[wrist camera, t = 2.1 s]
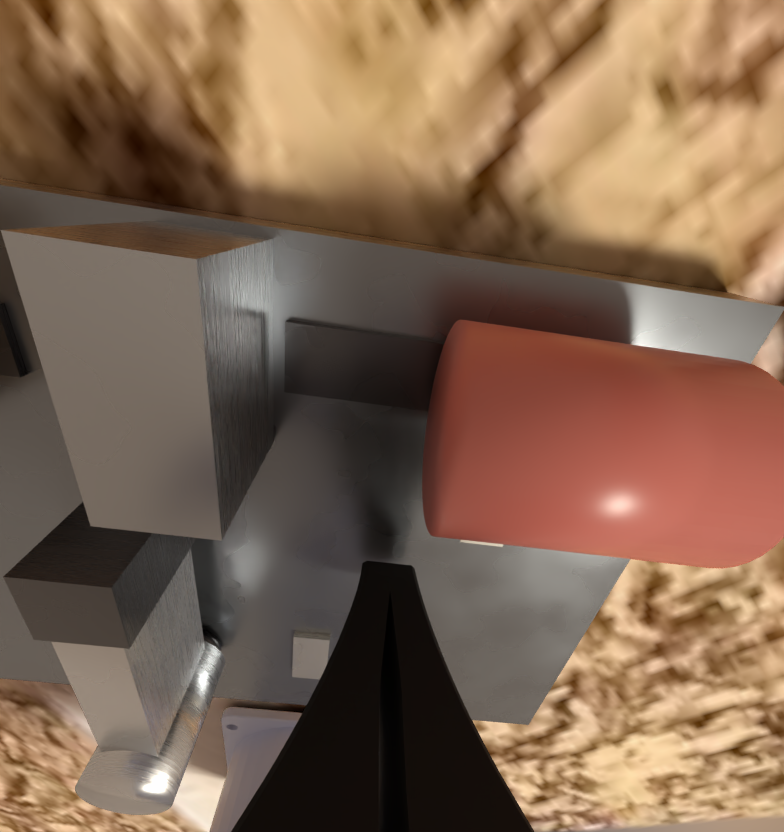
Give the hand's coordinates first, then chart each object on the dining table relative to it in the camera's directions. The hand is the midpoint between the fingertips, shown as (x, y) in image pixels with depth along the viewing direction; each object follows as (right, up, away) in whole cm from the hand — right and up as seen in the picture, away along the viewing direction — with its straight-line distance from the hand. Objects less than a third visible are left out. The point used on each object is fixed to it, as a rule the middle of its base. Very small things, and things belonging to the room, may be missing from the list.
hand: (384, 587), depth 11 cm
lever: (-6, -1, +1) cm, 6 cm away
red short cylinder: (+3, +5, -2) cm, 7 cm away
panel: (-4, +2, +2) cm, 5 cm away
